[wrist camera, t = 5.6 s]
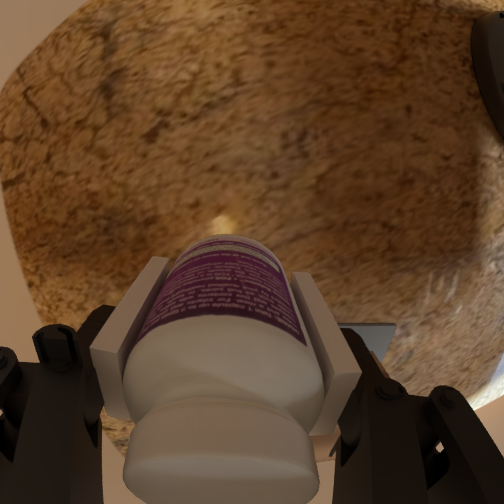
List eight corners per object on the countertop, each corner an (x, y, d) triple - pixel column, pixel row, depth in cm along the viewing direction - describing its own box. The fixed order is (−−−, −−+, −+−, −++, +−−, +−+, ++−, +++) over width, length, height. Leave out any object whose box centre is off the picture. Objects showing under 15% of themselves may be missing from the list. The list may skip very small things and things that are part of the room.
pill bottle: (146, 275, 13) (42, 453, 4) (242, 206, 12) (254, 376, 3) (217, 354, 14) (206, 537, 5) (308, 301, 14) (384, 489, 5)
